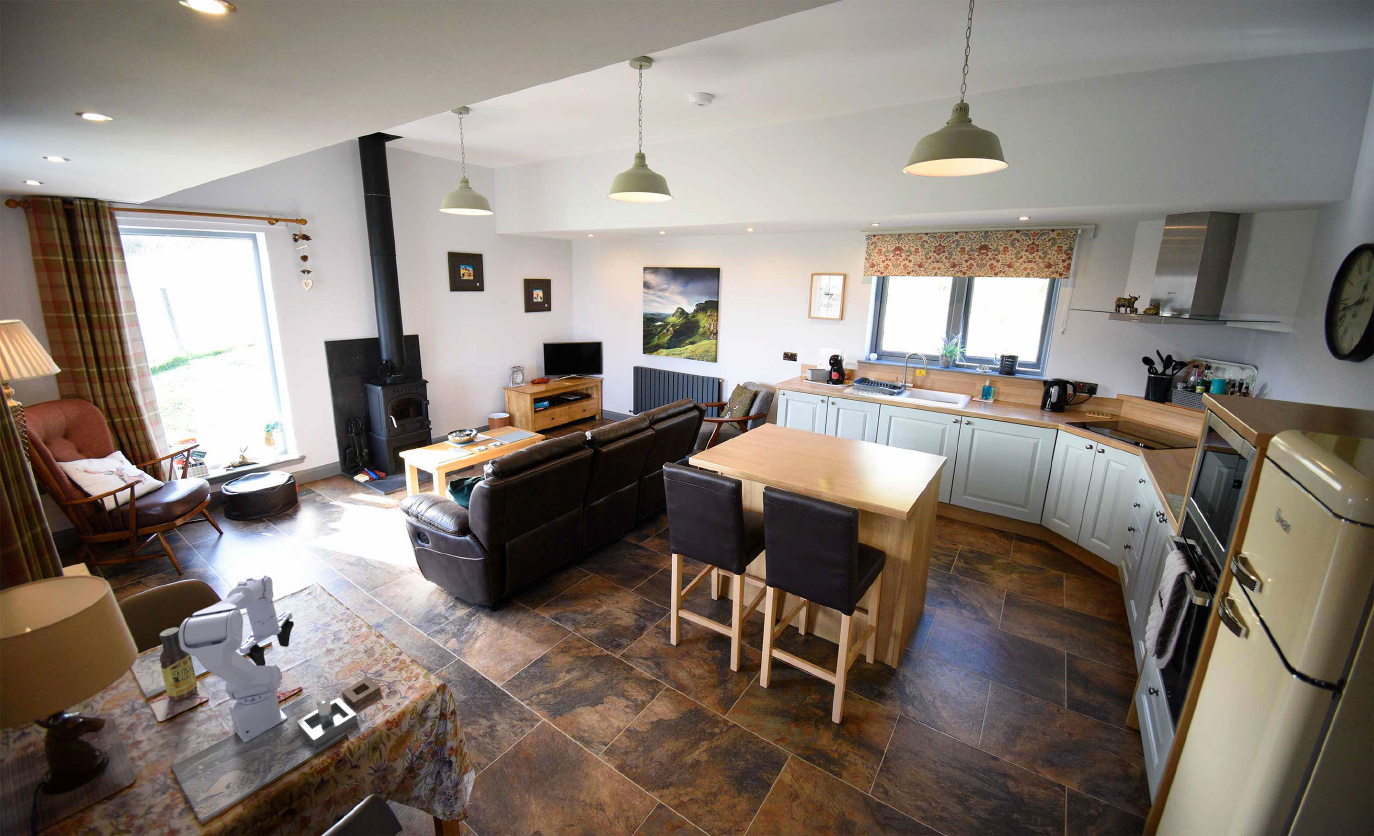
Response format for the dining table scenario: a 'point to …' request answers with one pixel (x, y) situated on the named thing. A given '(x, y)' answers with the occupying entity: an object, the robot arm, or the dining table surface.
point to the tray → (320, 736)
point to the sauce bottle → (176, 667)
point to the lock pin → (325, 713)
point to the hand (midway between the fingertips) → (273, 655)
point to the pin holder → (352, 691)
